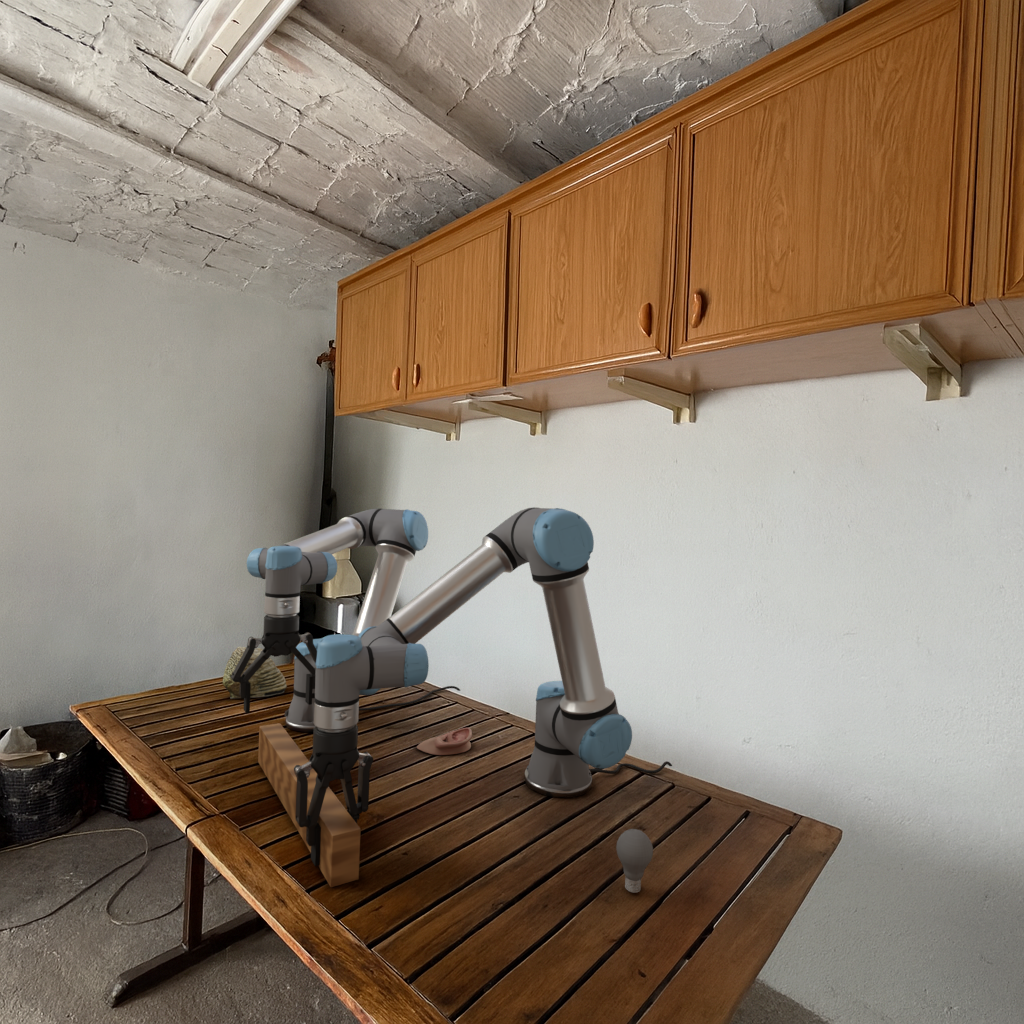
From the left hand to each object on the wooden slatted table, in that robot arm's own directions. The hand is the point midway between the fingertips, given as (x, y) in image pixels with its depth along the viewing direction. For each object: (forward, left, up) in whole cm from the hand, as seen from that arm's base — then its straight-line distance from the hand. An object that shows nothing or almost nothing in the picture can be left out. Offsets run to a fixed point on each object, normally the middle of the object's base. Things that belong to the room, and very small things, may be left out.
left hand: (278, 707), depth 144 cm
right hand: (+12, +38, -14) cm, 43 cm away
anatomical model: (-37, +17, -15) cm, 44 cm away
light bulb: (-16, +82, -15) cm, 85 cm away
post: (+6, +19, -15) cm, 25 cm away
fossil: (-25, -54, -15) cm, 62 cm away
